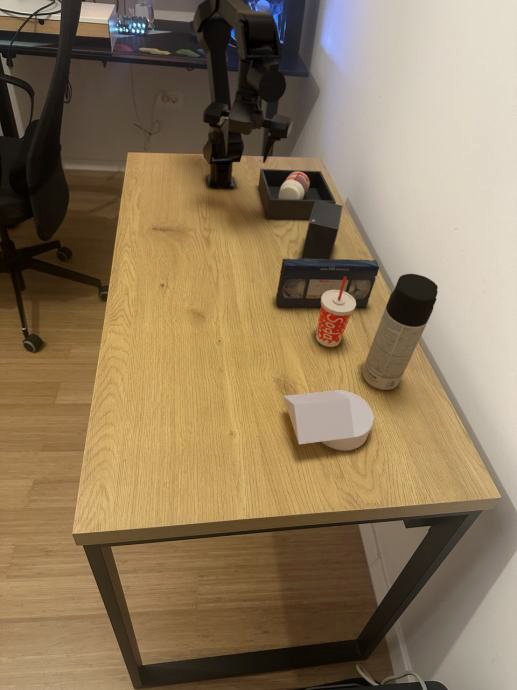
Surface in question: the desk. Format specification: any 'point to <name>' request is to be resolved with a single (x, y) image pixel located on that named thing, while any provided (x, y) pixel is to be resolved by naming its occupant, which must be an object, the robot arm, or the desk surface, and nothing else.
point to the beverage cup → (334, 315)
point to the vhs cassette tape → (324, 280)
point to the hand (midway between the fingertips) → (244, 158)
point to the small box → (322, 230)
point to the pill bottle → (294, 186)
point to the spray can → (399, 330)
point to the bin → (289, 207)
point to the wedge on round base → (330, 418)
